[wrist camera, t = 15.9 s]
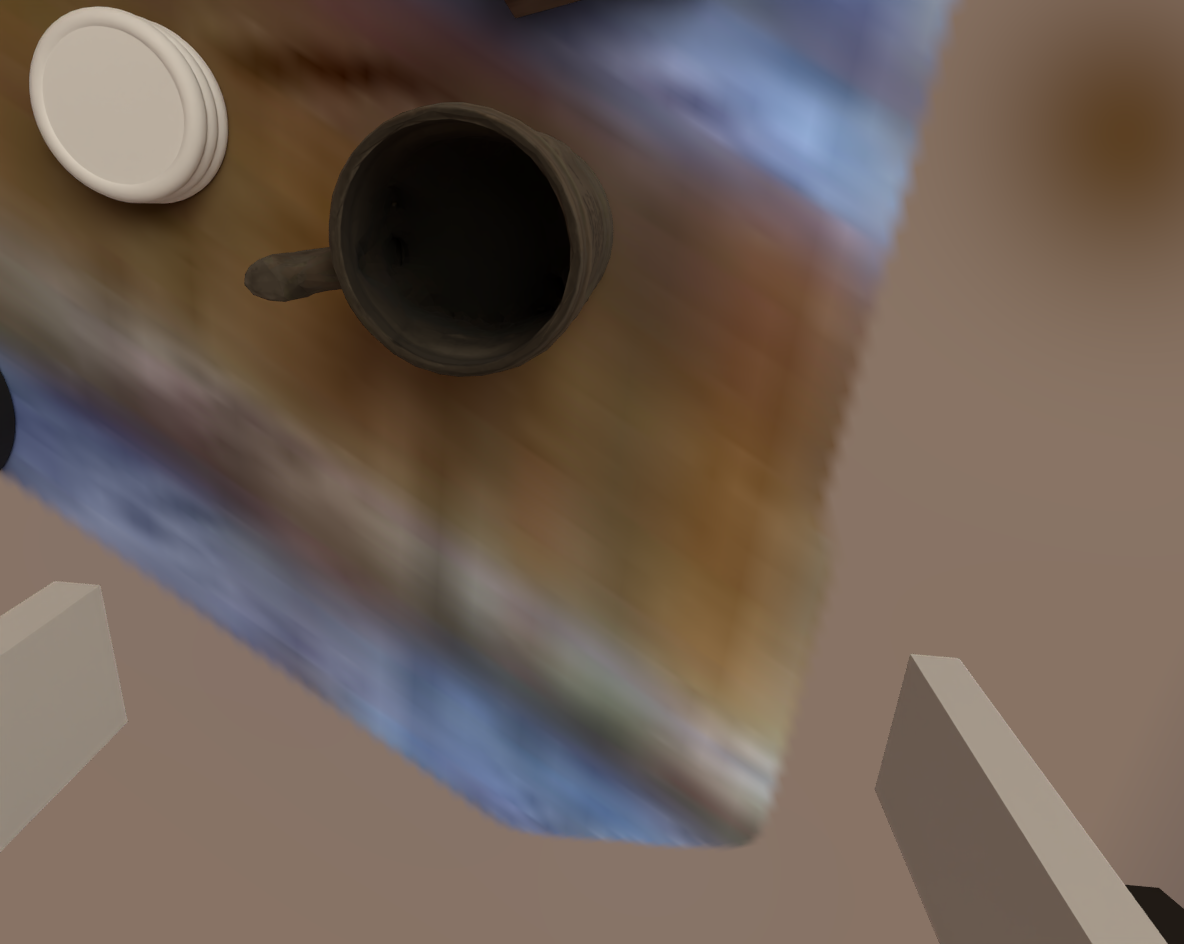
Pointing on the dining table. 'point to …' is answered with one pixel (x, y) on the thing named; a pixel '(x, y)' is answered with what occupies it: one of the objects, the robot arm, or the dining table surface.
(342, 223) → the beer stein
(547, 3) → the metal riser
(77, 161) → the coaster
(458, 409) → the dining table surface
